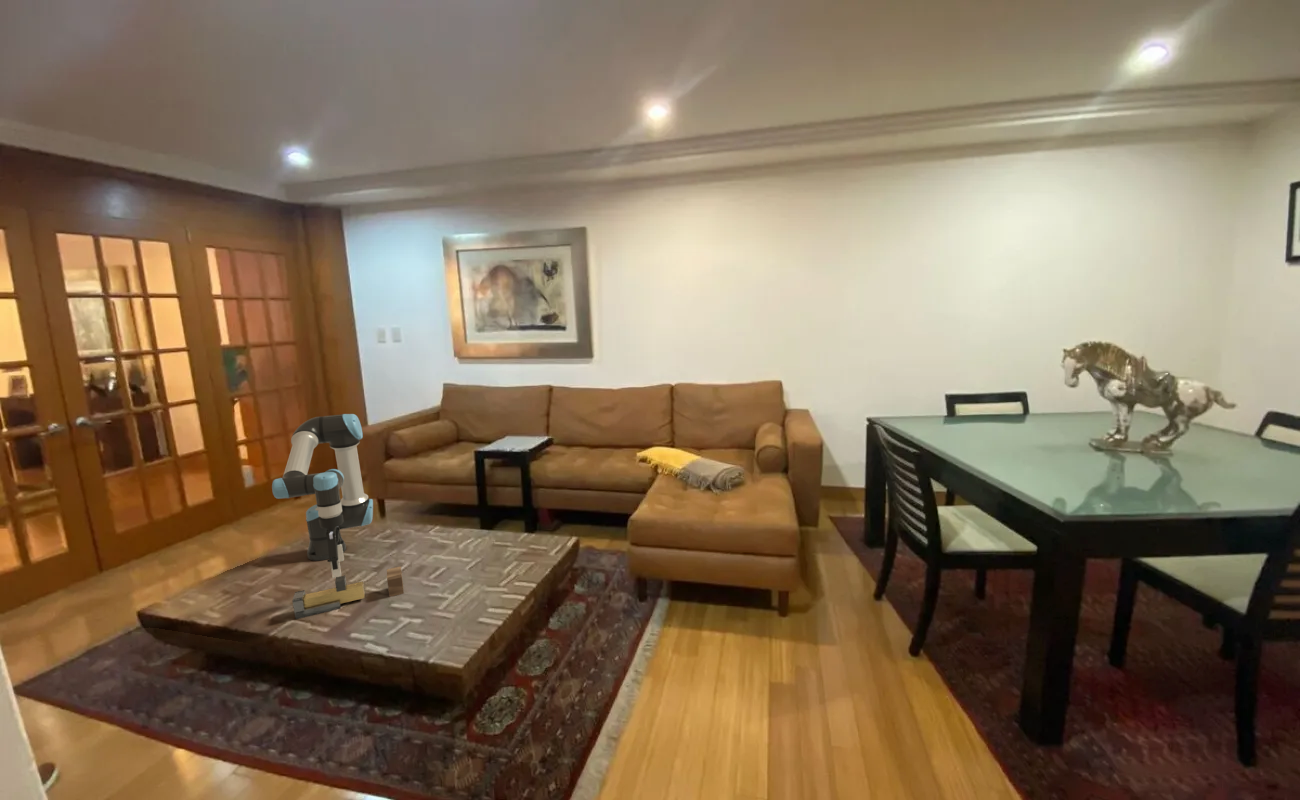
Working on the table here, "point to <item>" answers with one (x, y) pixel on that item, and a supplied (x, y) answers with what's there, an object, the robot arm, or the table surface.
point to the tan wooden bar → (335, 594)
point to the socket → (395, 581)
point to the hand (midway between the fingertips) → (338, 568)
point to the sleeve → (303, 612)
